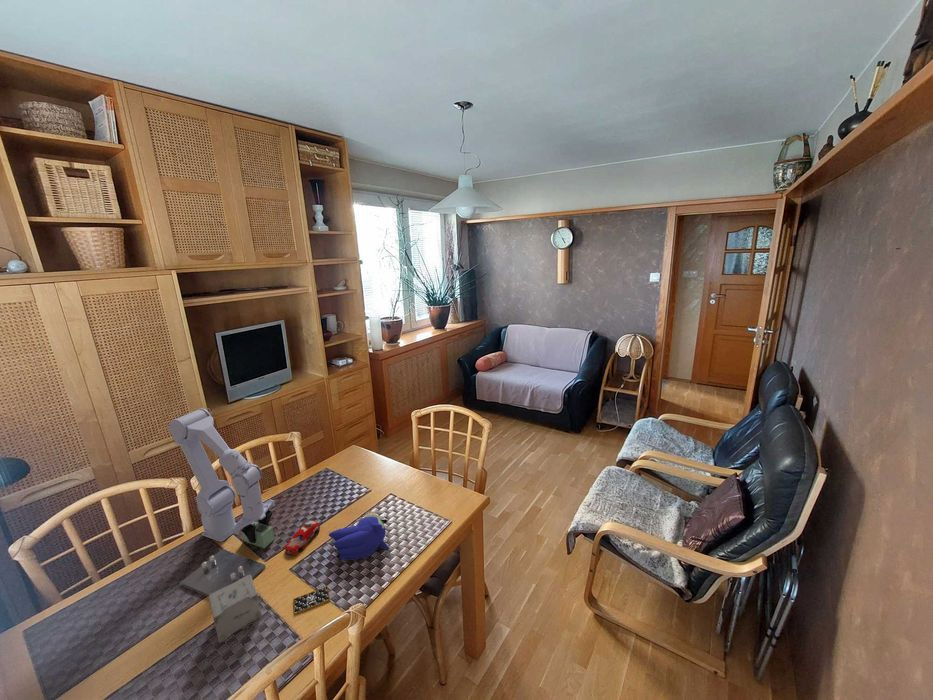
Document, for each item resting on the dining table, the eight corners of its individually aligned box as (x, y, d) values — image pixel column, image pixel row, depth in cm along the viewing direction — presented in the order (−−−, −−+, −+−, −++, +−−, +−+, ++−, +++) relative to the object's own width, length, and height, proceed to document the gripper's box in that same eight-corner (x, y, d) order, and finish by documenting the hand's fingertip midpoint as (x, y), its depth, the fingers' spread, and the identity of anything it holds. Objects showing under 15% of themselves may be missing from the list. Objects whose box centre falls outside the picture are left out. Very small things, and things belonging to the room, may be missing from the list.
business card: (293, 613, 97) (293, 598, 102) (294, 616, 98) (293, 601, 102) (329, 599, 101) (327, 585, 105) (330, 602, 101) (328, 588, 106)
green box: (243, 541, 122) (241, 526, 121) (254, 532, 126) (251, 518, 125) (264, 548, 120) (261, 533, 118) (274, 539, 123) (271, 525, 122)
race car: (295, 558, 116) (293, 548, 115) (281, 554, 118) (279, 544, 116) (323, 529, 128) (322, 519, 127) (310, 525, 130) (309, 516, 129)
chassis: (181, 585, 107) (178, 574, 105) (223, 551, 118) (220, 541, 117) (225, 604, 101) (223, 593, 100) (265, 567, 112) (263, 556, 111)
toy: (371, 520, 131) (400, 537, 122) (331, 556, 119) (360, 578, 110) (364, 497, 127) (394, 514, 118) (322, 533, 115) (351, 554, 106)
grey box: (219, 648, 90) (211, 615, 87) (214, 623, 96) (206, 591, 93) (264, 622, 96) (257, 590, 93) (256, 600, 102) (250, 570, 99)
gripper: (241, 520, 111) (248, 556, 115) (279, 491, 124) (285, 524, 128) (224, 514, 113) (232, 550, 117) (263, 486, 126) (269, 520, 130)
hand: (258, 536), depth 122 cm, fingers closed on green box, 4 cm apart
